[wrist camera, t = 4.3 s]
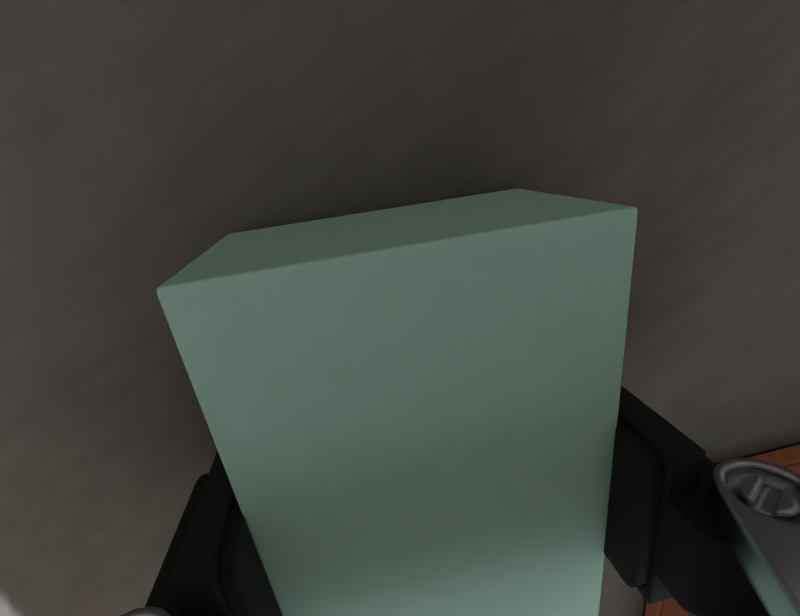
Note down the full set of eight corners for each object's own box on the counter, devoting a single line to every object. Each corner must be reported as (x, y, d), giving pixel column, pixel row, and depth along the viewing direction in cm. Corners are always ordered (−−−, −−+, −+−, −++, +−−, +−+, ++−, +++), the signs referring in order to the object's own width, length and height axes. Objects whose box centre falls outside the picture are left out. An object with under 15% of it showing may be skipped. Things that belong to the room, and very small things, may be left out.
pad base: (226, 233, 8) (151, 289, 4) (518, 187, 8) (641, 206, 5) (328, 575, 11) (329, 740, 8) (523, 524, 12) (595, 659, 9)
